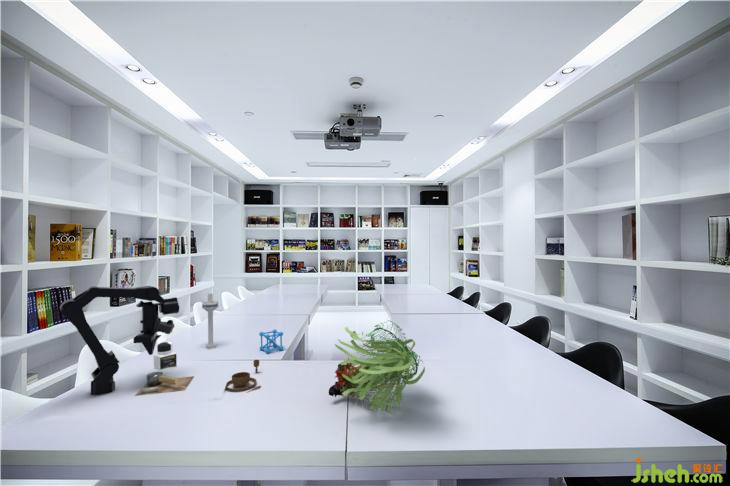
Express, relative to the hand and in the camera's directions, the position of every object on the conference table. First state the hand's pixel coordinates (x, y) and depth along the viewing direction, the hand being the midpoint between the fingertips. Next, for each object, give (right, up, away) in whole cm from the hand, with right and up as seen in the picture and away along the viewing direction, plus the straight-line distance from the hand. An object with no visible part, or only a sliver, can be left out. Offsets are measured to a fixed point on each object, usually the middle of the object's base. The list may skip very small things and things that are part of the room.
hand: (150, 354), depth 143 cm
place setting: (+41, -12, -1) cm, 43 cm away
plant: (+93, -10, -19) cm, 96 cm away
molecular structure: (+38, -12, +44) cm, 59 cm away
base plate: (+10, -12, -6) cm, 16 cm away
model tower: (+2, -13, +51) cm, 52 cm away
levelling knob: (+9, -10, -6) cm, 15 cm away
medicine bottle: (-4, -13, +17) cm, 22 cm away
